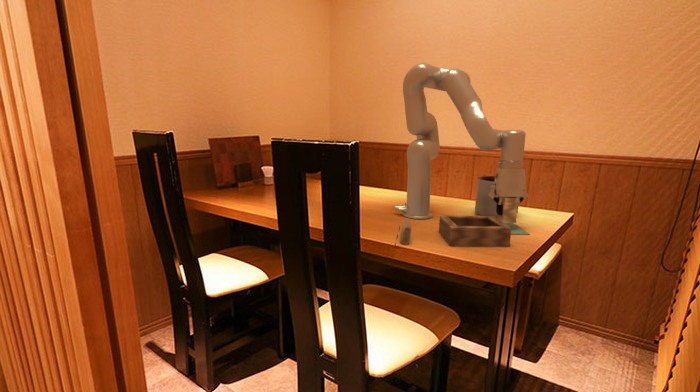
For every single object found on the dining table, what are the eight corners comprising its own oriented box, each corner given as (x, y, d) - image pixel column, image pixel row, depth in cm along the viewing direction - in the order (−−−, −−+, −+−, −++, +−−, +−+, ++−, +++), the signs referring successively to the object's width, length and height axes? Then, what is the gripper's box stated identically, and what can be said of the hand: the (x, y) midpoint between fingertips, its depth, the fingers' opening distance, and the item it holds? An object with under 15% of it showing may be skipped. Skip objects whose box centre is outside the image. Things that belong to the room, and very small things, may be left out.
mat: (495, 234, 130) (495, 233, 130) (481, 223, 144) (481, 222, 144) (529, 234, 130) (529, 233, 130) (512, 223, 144) (512, 222, 144)
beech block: (503, 222, 133) (505, 198, 131) (496, 218, 139) (498, 195, 137) (515, 222, 133) (518, 198, 131) (508, 218, 139) (510, 195, 137)
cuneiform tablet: (394, 247, 116) (394, 235, 128) (408, 251, 116) (406, 238, 127) (399, 226, 114) (399, 216, 126) (414, 229, 114) (412, 219, 126)
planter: (516, 221, 146) (520, 183, 143) (473, 217, 152) (476, 180, 149) (513, 212, 161) (517, 177, 158) (475, 209, 167) (478, 174, 163)
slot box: (450, 246, 118) (451, 227, 116) (438, 231, 132) (439, 215, 131) (509, 246, 118) (511, 228, 117) (491, 232, 132) (493, 215, 131)
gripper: (491, 166, 128) (487, 217, 132) (540, 166, 128) (534, 217, 132) (483, 163, 136) (480, 212, 139) (529, 163, 136) (524, 212, 139)
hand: (506, 214), depth 136 cm, fingers closed on beech block, 4 cm apart
